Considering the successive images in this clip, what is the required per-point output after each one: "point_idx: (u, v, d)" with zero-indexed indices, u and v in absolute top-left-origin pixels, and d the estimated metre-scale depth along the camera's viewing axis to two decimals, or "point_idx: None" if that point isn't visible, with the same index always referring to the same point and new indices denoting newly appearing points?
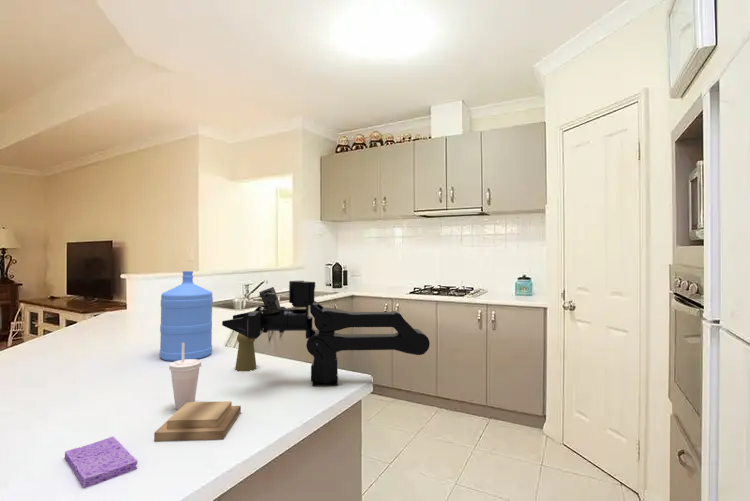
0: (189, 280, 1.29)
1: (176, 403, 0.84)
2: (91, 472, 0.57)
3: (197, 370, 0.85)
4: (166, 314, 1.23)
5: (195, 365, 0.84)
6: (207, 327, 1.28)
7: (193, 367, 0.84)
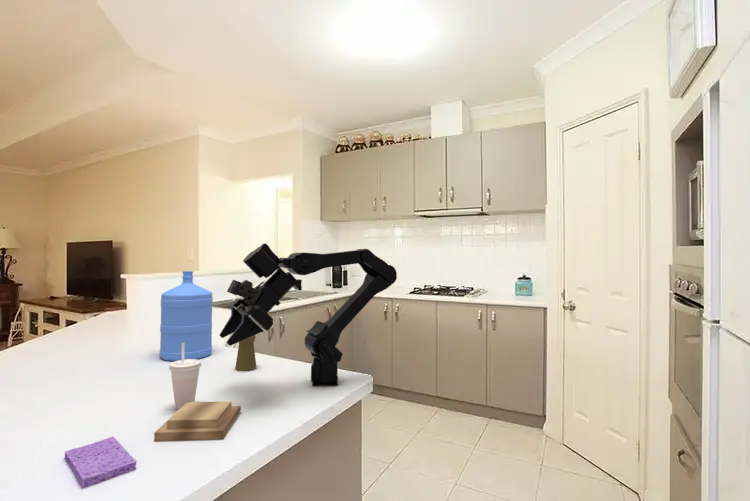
0: (189, 280, 1.29)
1: (176, 403, 0.84)
2: (90, 472, 0.57)
3: (197, 370, 0.85)
4: (166, 314, 1.23)
5: (195, 365, 0.84)
6: (207, 327, 1.28)
7: (193, 367, 0.84)
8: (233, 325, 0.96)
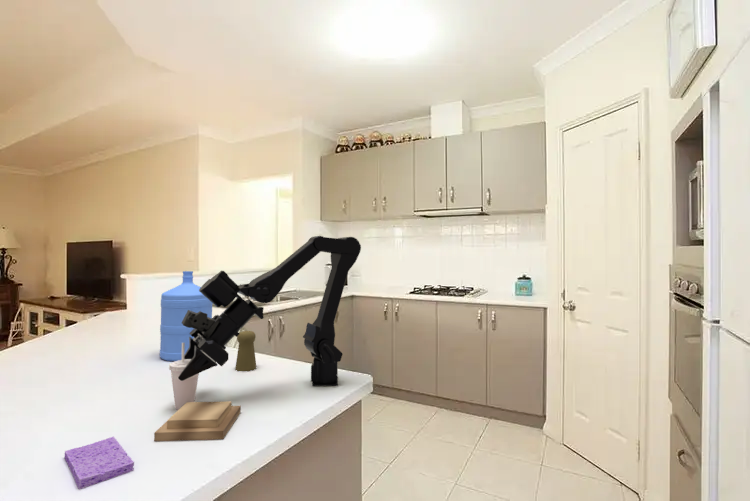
0: (189, 280, 1.29)
1: (176, 403, 0.84)
2: (87, 473, 0.57)
3: None
4: (166, 314, 1.23)
5: None
6: None
7: None
8: (191, 358, 0.89)
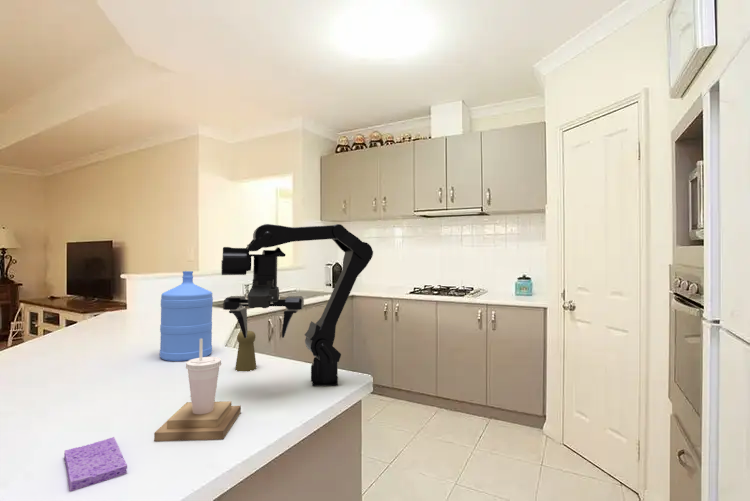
0: (189, 280, 1.29)
1: (197, 407, 0.74)
2: (79, 475, 0.56)
3: (218, 368, 0.77)
4: (166, 314, 1.23)
5: (218, 362, 0.76)
6: (207, 327, 1.28)
7: (217, 364, 0.75)
8: (245, 322, 0.97)
